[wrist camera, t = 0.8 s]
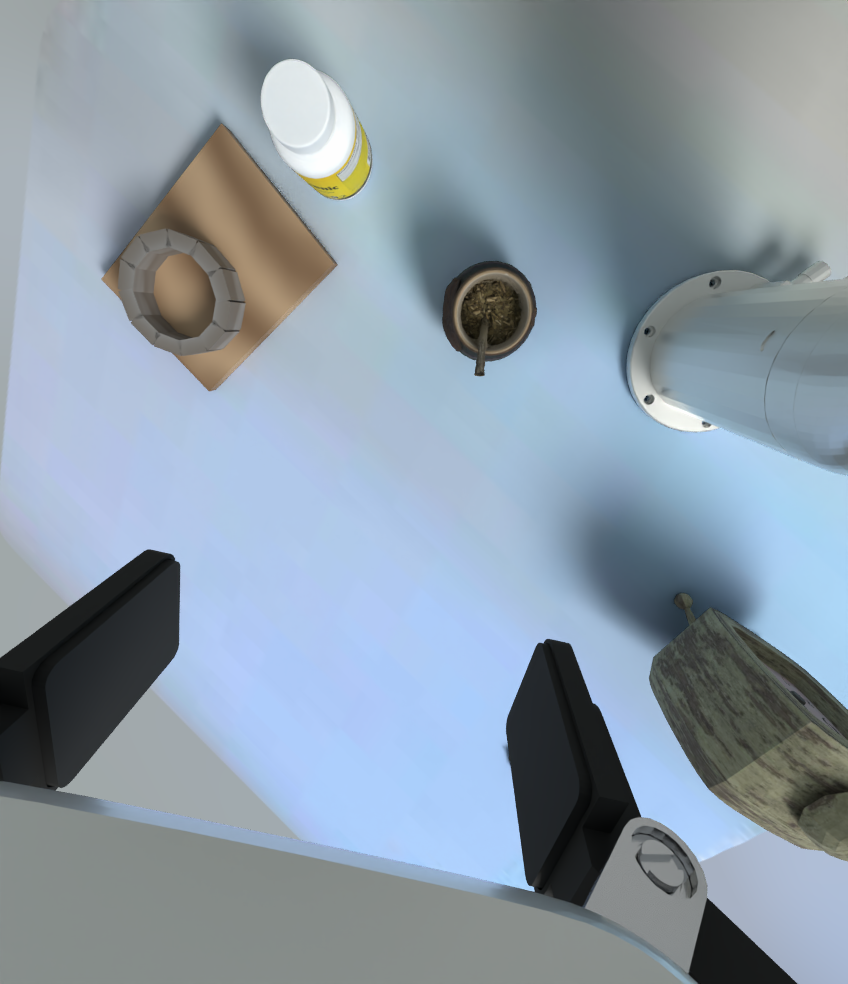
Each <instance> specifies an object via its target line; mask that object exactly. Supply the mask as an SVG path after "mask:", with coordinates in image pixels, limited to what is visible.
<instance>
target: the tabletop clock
mask: <svg viewBox="0 0 848 984" xmlns="http://www.w3.org/2000/svg"><path fill="white" fill-rule="evenodd" d="M674 602H675V604H676V605H677V607H678V608H680V609H683V610H685V613H686V617H687V620H688V623H689V626H688V627H687V628H686V629H685V630H684V631H683V632H682V633H680V634H679V635H678V636H677V637H676V638H675V639H674V640H672V641H671V642H670V643H669V644H668V645H667V646H666V647H664V648H663V649H662V650H661V651H660V652H659V653H658V654H657V655H655V656H654V657H653V662H652V666H651V671H650V676H649V681H650V685H651V688H652V690H653V693H654V695H655V697H656V699H657V701H658V703H659V705H660V707H661V709H662V711H663V714H664V716H665V718H666V720H667V722H668V724H669V725H670V727H671V729H672V731H673V733H674V734H675V736H676V738H677V740H678V742H679V743H680V745H681V747H682V749H683V751H684V752H685V754H686V756H687V758H688V759H689V761H690V762H691V764H692V766H693V767H694V769H695V770H696V772H697V774H698V775H699V776H700V778H701V779H702V781H703V782H704V783H705V785H706V786H707V788H708V789H709V790H710V791H711V792H712V793H714V794H715V795H716V796H717V797H718V798H719V799H720V800H722V801H723V802H724V803H725V804H727V805H728V806H730V807H731V808H733V809H734V810H736V811H737V812H739V813H740V814H742V815H743V816H745V817H747V818H748V819H750V820H751V821H753V822H755V823H756V824H758V825H759V826H761V827H763V828H764V829H766V830H767V831H770V832H771V833H773V834H775V835H777V836H779V837H781V838H783V839H785V840H787V841H788V842H790V843H792V844H794V845H796V846H798V847H800V848H804V849H810V850H820V851H824V852H826V853H827V854H829V855H831V856H834V857H836V858H839V859H841V860H845V861H848V710H847V709H846V708H845V707H844V706H843V705H842V704H841V703H840V702H839V701H838V700H837V699H836V698H835V697H834V696H833V695H832V694H831V693H830V692H829V691H828V690H827V689H825V688H824V687H823V686H822V685H821V684H820V683H819V682H818V681H817V680H816V679H815V678H814V677H812V676H811V675H810V674H809V673H808V672H807V671H806V670H805V669H803V668H802V667H801V666H799V665H798V664H797V663H796V662H794V661H793V660H792V659H790V658H789V657H788V656H786V655H785V654H783V653H782V652H781V651H779V650H778V649H776V648H775V647H773V646H772V645H770V644H769V643H767V642H766V641H765V640H763V639H762V638H760V637H759V636H757V635H756V634H754V633H753V632H751V631H750V630H748V629H747V628H745V627H744V626H742V625H740V624H739V623H737V622H736V621H734V620H733V619H731V618H729V617H728V616H726V615H725V614H723V613H721V612H720V611H718V610H716V609H714V608H711V607H710V608H709V609H708V610H707V611H705V612H704V613H703V614H702V615H701V616H700V617H699V618H697V619H696V618H695V616H694V615H693V613H692V611H691V609H690V608H691V606H692V604H693V600H692V598H691V597H690V596H689V595H688V594H685V593H680V594H678V595H676V597H675V599H674Z"/></svg>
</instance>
